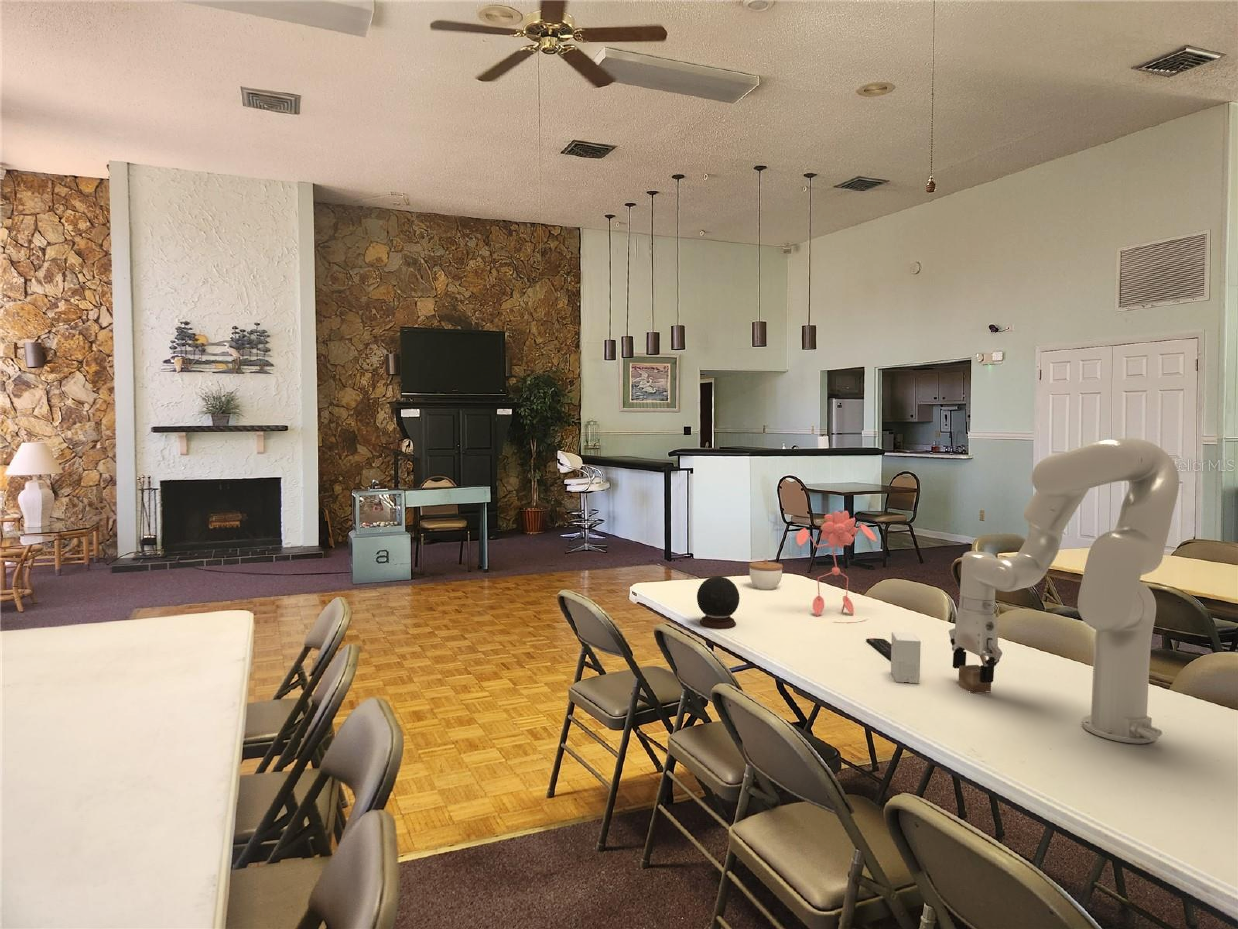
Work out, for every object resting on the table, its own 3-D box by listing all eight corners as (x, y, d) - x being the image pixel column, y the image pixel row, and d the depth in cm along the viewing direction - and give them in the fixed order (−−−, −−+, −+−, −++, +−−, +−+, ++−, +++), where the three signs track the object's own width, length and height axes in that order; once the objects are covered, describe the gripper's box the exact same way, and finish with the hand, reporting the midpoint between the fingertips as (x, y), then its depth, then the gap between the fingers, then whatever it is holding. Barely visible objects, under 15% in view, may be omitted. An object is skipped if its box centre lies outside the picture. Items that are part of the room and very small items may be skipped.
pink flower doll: (790, 611, 252) (794, 507, 250) (864, 611, 255) (869, 508, 252) (805, 624, 237) (809, 514, 234) (884, 624, 239) (889, 514, 237)
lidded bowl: (763, 583, 298) (763, 555, 298) (788, 588, 289) (789, 560, 288) (741, 587, 290) (742, 558, 290) (767, 593, 281) (768, 563, 280)
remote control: (898, 669, 195) (898, 664, 195) (865, 642, 219) (865, 638, 219) (918, 669, 195) (918, 664, 195) (883, 643, 219) (883, 638, 219)
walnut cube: (990, 692, 177) (991, 671, 177) (972, 693, 176) (973, 672, 176) (976, 685, 182) (977, 664, 182) (958, 686, 181) (959, 665, 181)
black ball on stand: (699, 630, 228) (700, 581, 228) (693, 619, 241) (694, 572, 241) (742, 630, 229) (743, 581, 228) (734, 619, 242) (735, 572, 241)
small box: (919, 684, 182) (921, 641, 181) (895, 682, 183) (896, 639, 183) (913, 673, 190) (915, 632, 189) (890, 672, 191) (891, 631, 190)
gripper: (1016, 613, 171) (1012, 687, 172) (966, 595, 188) (962, 662, 189) (988, 614, 169) (983, 689, 170) (939, 595, 186) (935, 663, 187)
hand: (972, 674), depth 180 cm, fingers open, 9 cm apart
